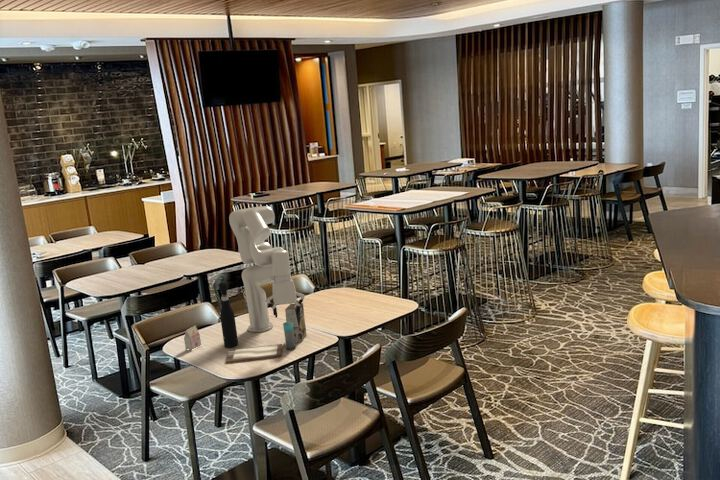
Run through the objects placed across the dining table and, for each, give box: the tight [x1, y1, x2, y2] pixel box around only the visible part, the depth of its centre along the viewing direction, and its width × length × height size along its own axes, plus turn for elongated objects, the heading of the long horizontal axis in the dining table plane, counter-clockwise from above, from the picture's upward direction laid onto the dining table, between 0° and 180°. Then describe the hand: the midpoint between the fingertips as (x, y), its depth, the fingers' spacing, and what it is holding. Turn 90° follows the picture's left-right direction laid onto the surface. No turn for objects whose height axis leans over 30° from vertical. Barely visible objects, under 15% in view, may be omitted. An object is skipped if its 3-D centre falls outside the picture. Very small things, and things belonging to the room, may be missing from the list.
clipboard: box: [225, 343, 283, 364], centre depth 296 cm, size 14×24×2 cm, turn 94°
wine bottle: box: [218, 282, 239, 349], centre depth 307 cm, size 6×6×30 cm
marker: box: [282, 321, 296, 351], centre depth 298 cm, size 4×4×12 cm
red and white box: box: [183, 325, 202, 350], centre depth 311 cm, size 4×7×10 cm, turn 155°
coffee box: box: [284, 302, 308, 343], centre depth 309 cm, size 9×6×16 cm
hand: (287, 315), depth 295 cm, fingers open, 9 cm apart
